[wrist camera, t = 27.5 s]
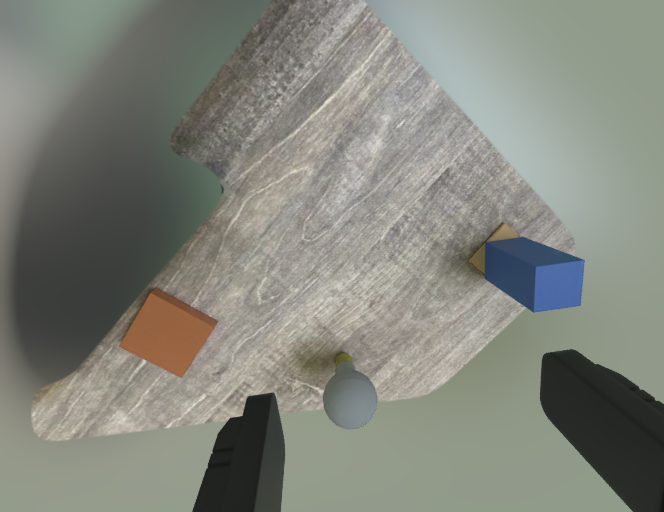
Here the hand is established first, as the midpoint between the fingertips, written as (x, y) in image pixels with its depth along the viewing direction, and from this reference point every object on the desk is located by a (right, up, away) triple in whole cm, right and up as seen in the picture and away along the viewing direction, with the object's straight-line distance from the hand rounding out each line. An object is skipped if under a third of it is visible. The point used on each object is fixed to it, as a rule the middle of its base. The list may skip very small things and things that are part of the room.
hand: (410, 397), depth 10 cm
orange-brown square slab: (-21, -4, +29) cm, 36 cm away
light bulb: (-1, -8, +32) cm, 33 cm away
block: (+17, +4, +29) cm, 34 cm away
